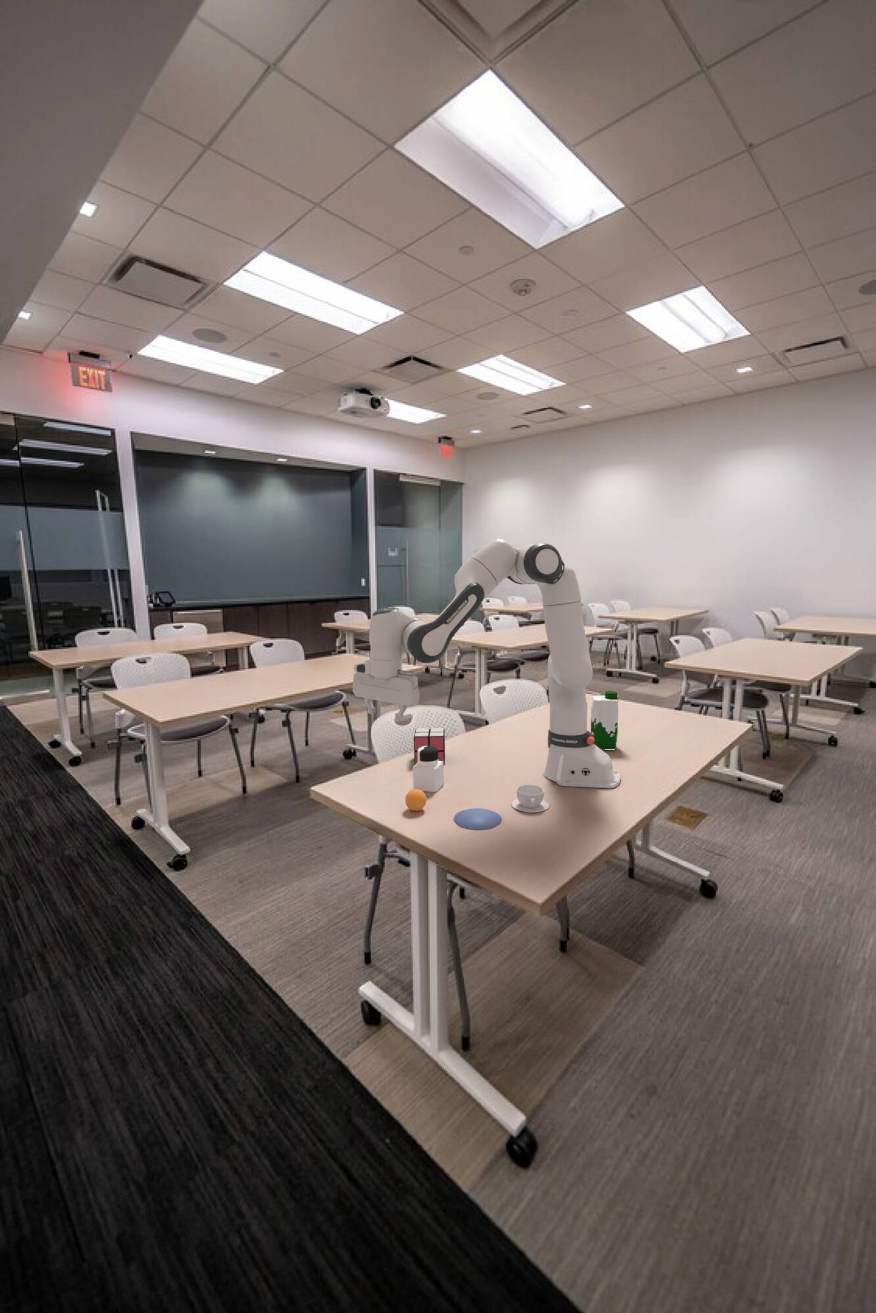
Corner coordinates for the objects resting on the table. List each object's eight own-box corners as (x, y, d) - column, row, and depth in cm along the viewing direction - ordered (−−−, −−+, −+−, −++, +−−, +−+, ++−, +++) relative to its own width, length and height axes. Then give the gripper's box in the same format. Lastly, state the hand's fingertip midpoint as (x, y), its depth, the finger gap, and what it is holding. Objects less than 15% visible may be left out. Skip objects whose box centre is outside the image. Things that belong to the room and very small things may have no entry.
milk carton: (618, 751, 188) (619, 695, 186) (591, 750, 190) (592, 694, 187) (615, 744, 197) (616, 689, 194) (589, 743, 199) (590, 689, 196)
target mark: (506, 812, 142) (506, 811, 142) (494, 832, 131) (494, 832, 130) (462, 806, 146) (462, 805, 146) (447, 825, 135) (447, 824, 135)
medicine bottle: (444, 783, 162) (443, 745, 161) (436, 792, 156) (435, 752, 154) (421, 781, 165) (420, 743, 163) (412, 790, 158) (411, 750, 156)
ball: (430, 807, 146) (429, 787, 145) (421, 815, 141) (421, 795, 140) (410, 804, 148) (410, 784, 147) (402, 812, 143) (401, 792, 142)
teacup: (509, 798, 151) (509, 782, 150) (546, 798, 151) (546, 782, 150) (513, 814, 141) (513, 797, 140) (552, 814, 141) (552, 796, 140)
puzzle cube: (444, 765, 179) (444, 736, 177) (414, 766, 179) (413, 736, 177) (445, 755, 188) (444, 727, 187) (416, 756, 189) (415, 728, 187)
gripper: (424, 670, 145) (423, 720, 148) (363, 661, 155) (363, 707, 158) (411, 675, 140) (410, 726, 142) (349, 664, 150) (349, 713, 153)
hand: (385, 716), depth 150 cm, fingers open, 8 cm apart
